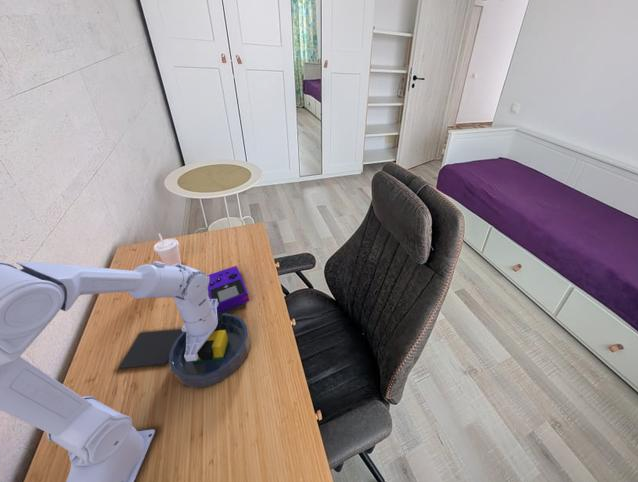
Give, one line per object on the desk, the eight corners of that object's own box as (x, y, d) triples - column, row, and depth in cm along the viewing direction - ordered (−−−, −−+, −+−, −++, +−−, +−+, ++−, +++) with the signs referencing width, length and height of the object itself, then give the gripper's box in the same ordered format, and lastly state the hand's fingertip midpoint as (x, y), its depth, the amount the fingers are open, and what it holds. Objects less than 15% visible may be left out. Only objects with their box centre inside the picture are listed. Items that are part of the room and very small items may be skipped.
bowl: (241, 384, 64) (237, 373, 61) (161, 394, 61) (154, 383, 59) (256, 321, 78) (253, 310, 75) (191, 327, 75) (186, 316, 73)
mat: (166, 364, 66) (166, 363, 66) (119, 369, 65) (118, 368, 65) (183, 330, 74) (182, 329, 74) (140, 334, 73) (139, 332, 72)
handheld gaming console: (236, 264, 91) (247, 291, 80) (239, 277, 93) (250, 305, 82) (204, 275, 86) (210, 305, 75) (208, 288, 88) (215, 319, 77)
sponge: (224, 359, 68) (219, 346, 65) (192, 362, 66) (186, 350, 64) (229, 342, 71) (225, 329, 69) (199, 345, 70) (194, 332, 68)
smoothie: (164, 263, 94) (150, 229, 87) (187, 258, 97) (175, 225, 90) (161, 276, 89) (146, 241, 82) (185, 271, 92) (172, 237, 85)
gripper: (190, 287, 67) (204, 324, 74) (160, 344, 55) (180, 382, 62) (222, 285, 68) (232, 321, 75) (199, 341, 56) (215, 378, 63)
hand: (211, 348), depth 68 cm, fingers closed on sponge, 4 cm apart
